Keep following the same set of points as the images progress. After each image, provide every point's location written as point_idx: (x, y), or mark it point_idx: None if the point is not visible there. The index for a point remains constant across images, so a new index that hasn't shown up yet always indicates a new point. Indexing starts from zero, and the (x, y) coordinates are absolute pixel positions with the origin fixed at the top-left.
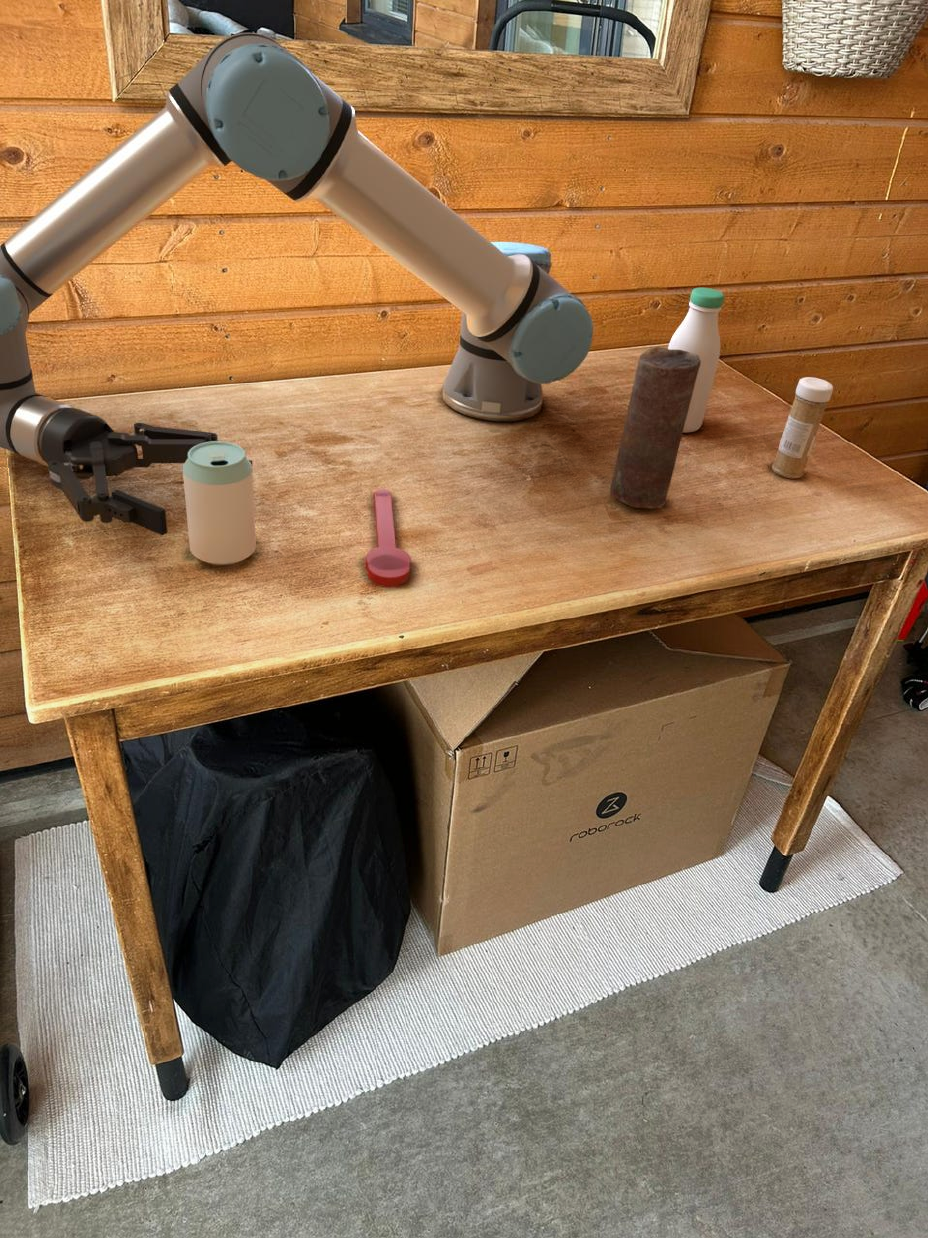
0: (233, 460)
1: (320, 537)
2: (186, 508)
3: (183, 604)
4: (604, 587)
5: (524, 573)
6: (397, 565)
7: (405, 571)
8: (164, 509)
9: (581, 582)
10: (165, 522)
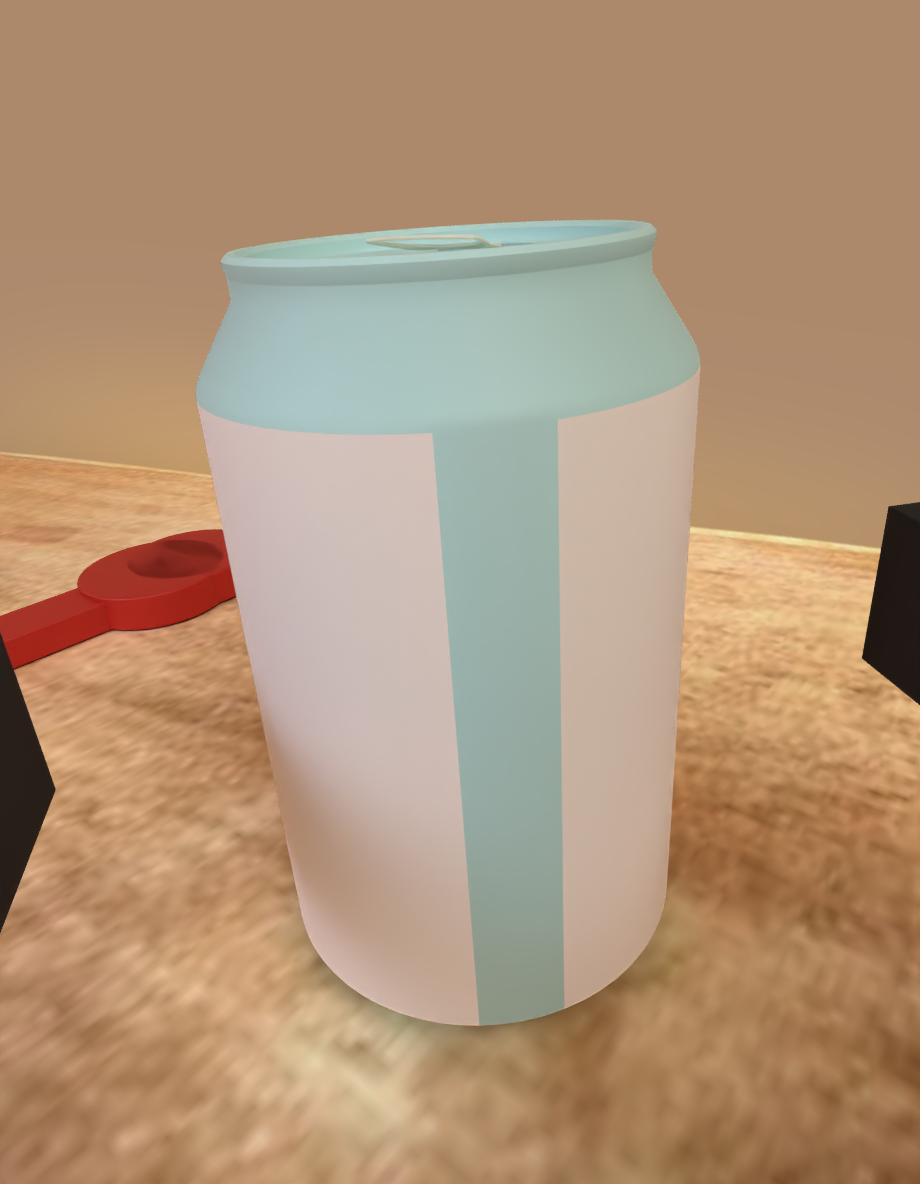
0: (403, 250)
1: (86, 763)
2: (675, 667)
3: (840, 719)
4: (4, 462)
5: (17, 506)
6: (174, 548)
7: (191, 533)
8: (892, 507)
9: (4, 474)
10: (880, 592)
